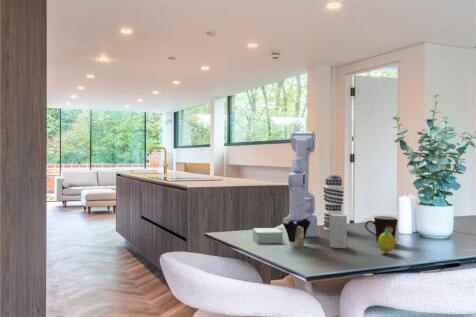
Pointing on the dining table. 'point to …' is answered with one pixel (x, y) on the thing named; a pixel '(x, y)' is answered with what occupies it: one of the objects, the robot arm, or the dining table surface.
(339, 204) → the decorative candle
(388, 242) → the lemon
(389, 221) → the coffee mug
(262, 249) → the dining table surface
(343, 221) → the skincare box
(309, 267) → the dining table surface
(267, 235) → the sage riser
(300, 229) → the maple block
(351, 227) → the dining table surface
